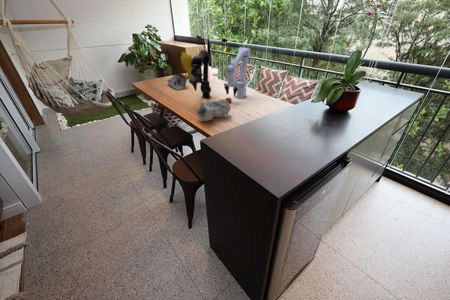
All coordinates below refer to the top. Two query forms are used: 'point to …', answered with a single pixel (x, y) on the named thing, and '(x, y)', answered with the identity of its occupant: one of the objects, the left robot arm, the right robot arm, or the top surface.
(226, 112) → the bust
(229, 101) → the brick
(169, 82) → the gray rock
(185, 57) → the sculpture
